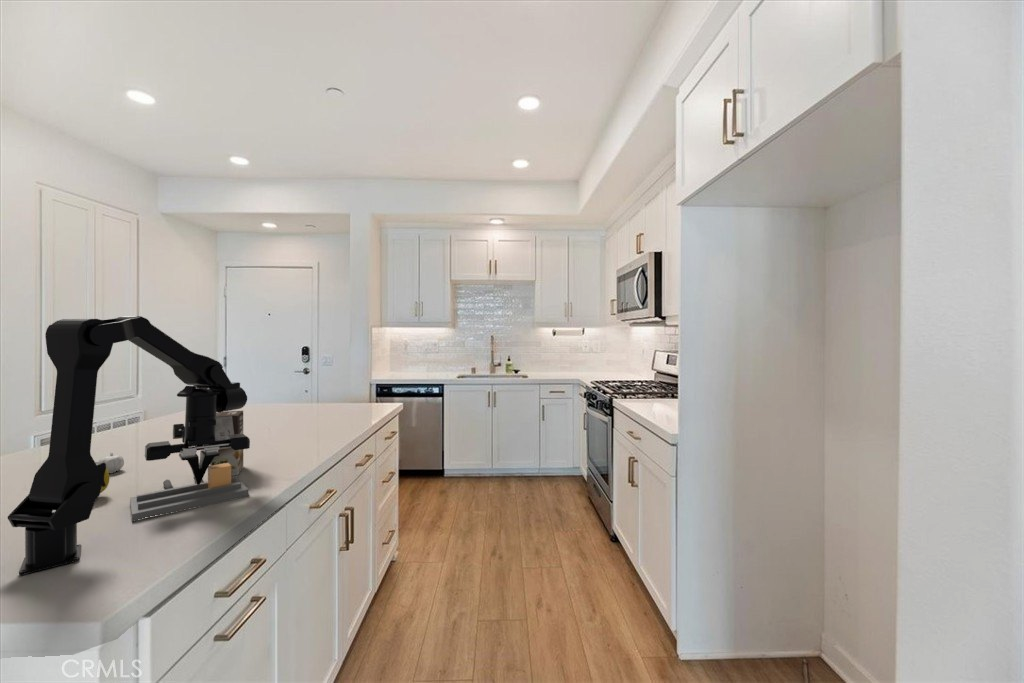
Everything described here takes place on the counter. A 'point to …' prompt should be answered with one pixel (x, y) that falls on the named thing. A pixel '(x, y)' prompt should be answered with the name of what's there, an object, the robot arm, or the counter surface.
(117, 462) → the garlic
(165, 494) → the plate
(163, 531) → the counter surface
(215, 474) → the light orange rectangular block
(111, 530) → the counter surface
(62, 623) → the counter surface
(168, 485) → the dark grey parallel rods
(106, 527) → the counter surface
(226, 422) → the coffee box
